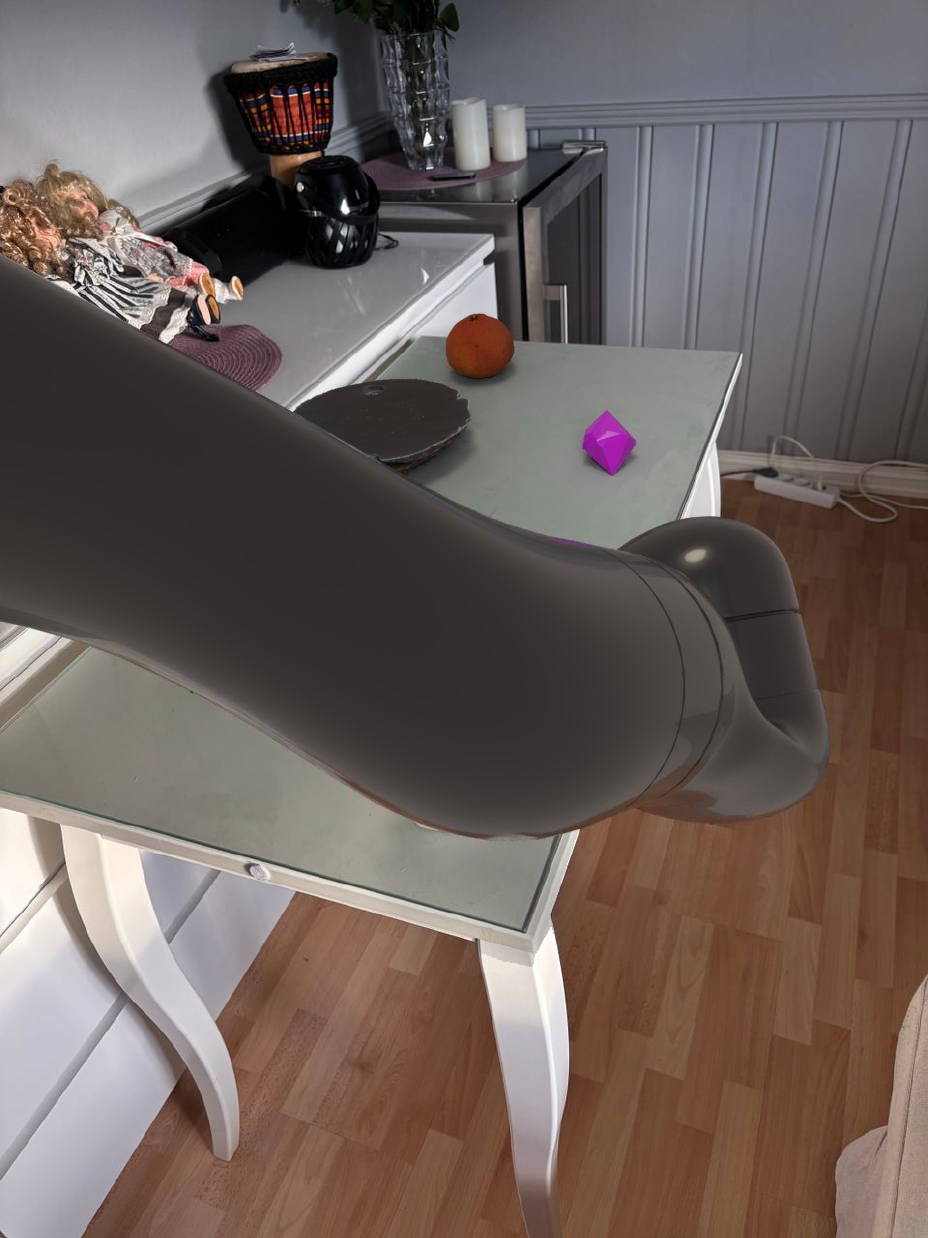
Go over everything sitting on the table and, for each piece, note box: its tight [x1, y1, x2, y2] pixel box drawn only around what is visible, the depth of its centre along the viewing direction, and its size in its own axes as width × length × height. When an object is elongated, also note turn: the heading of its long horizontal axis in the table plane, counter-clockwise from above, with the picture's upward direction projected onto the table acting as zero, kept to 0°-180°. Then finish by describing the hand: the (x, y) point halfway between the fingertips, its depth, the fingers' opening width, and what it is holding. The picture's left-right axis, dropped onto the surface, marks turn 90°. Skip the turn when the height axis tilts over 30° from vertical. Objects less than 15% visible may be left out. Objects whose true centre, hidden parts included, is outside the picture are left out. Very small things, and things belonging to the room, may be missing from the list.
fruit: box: [445, 312, 515, 379], centre depth 120 cm, size 9×9×8 cm
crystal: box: [581, 409, 637, 476], centre depth 100 cm, size 5×5×5 cm
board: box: [292, 377, 473, 475], centre depth 106 cm, size 22×22×5 cm
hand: (430, 744), depth 63 cm, fingers open, 5 cm apart
